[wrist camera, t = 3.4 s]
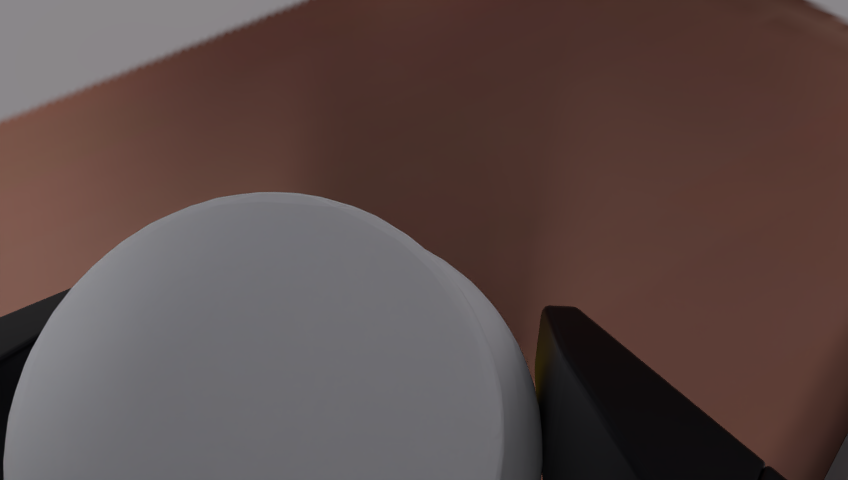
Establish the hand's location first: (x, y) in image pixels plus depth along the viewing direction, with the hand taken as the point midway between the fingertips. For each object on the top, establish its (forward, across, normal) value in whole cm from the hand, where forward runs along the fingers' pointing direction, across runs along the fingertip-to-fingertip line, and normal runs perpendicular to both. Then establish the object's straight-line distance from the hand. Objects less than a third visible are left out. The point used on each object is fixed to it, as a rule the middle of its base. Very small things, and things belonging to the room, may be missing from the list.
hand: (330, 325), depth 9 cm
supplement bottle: (+4, 0, +6) cm, 7 cm away
